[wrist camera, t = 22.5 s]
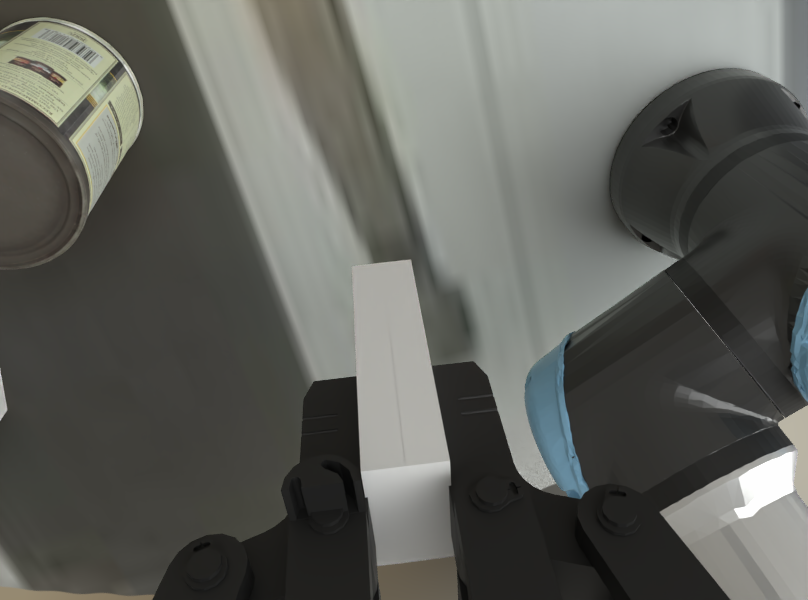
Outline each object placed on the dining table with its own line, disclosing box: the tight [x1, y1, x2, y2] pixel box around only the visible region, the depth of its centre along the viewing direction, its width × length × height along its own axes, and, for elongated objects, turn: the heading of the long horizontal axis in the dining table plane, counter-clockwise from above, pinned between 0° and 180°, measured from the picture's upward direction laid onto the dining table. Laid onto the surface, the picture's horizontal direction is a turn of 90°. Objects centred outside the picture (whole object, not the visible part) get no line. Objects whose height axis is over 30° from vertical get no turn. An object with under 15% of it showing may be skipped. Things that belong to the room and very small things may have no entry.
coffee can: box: [0, 17, 143, 270], centre depth 38 cm, size 10×10×14 cm
